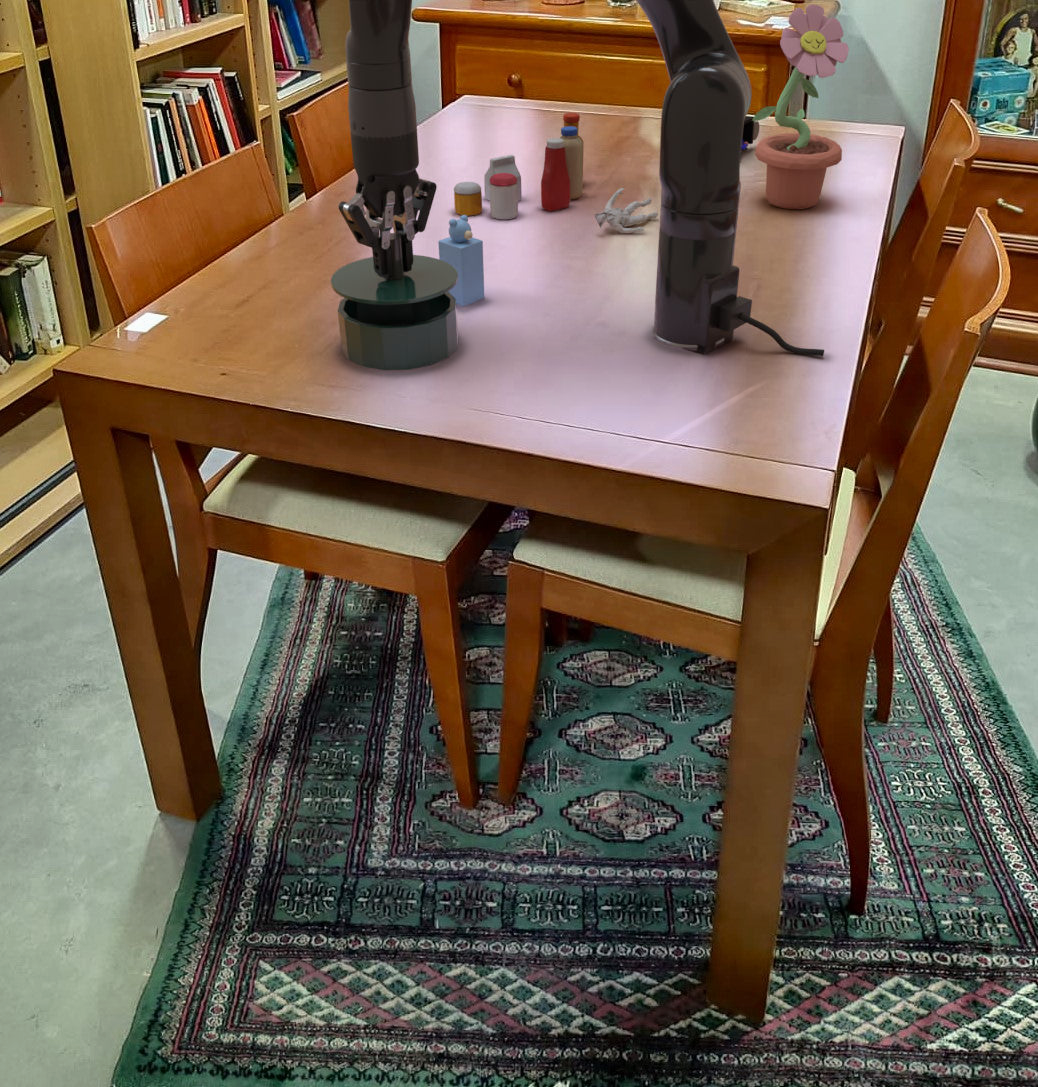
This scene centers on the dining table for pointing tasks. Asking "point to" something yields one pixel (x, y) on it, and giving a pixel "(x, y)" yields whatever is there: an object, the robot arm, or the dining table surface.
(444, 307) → the pot
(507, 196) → the toy food
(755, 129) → the figurine character
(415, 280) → the lid
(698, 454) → the dining table surface
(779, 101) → the decorative flower
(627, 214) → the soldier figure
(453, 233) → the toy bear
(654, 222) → the dining table surface
